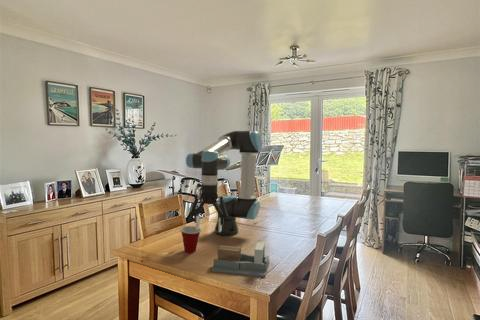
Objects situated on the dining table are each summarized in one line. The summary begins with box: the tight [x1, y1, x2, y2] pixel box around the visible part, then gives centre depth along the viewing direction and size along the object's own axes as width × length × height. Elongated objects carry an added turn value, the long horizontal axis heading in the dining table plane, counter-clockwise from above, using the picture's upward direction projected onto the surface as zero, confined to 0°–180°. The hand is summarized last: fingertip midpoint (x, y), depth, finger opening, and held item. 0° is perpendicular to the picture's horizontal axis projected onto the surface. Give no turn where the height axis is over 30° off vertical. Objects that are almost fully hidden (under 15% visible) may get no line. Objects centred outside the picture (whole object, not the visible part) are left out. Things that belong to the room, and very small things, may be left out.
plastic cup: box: [180, 225, 202, 254], centre depth 152 cm, size 11×11×12 cm
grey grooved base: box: [211, 242, 270, 278], centre depth 134 cm, size 16×24×11 cm, turn 78°
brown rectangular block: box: [217, 244, 242, 262], centre depth 135 cm, size 5×10×7 cm, turn 78°
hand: (208, 230), depth 137 cm, fingers open, 10 cm apart
